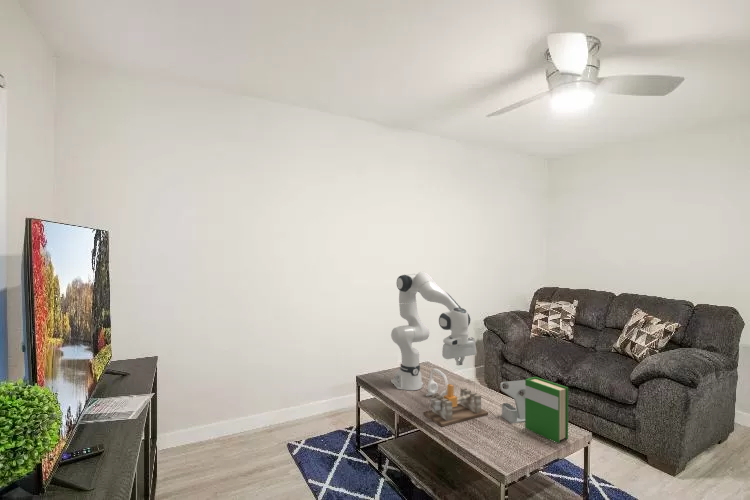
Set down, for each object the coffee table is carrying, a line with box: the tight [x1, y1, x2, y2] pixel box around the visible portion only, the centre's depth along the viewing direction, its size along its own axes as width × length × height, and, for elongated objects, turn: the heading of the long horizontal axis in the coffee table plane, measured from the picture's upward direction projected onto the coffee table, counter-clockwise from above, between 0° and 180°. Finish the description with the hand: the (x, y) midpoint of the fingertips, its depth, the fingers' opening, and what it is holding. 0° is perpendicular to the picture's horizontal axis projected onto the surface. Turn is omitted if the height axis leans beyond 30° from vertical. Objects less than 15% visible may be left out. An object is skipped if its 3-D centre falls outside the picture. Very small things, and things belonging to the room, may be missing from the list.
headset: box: [425, 368, 449, 399], centre depth 224 cm, size 20×7×18 cm, turn 20°
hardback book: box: [524, 376, 569, 444], centre depth 185 cm, size 18×7×24 cm, turn 31°
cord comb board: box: [423, 387, 489, 428], centre depth 206 cm, size 16×30×10 cm, turn 117°
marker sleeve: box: [444, 383, 458, 407], centre depth 204 cm, size 5×5×11 cm
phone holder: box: [499, 379, 525, 424], centre depth 203 cm, size 17×10×18 cm, turn 104°
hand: (459, 365), depth 207 cm, fingers closed
